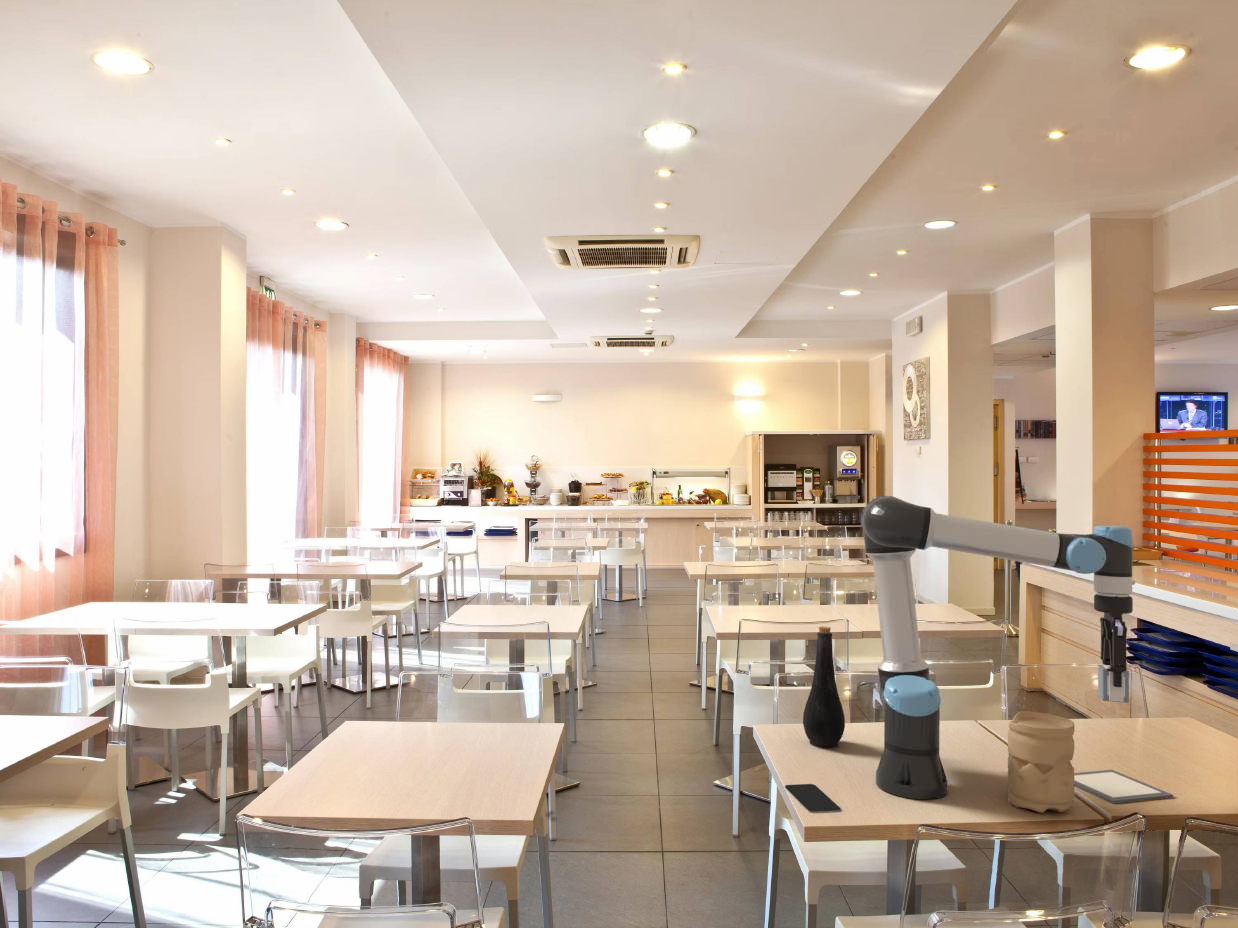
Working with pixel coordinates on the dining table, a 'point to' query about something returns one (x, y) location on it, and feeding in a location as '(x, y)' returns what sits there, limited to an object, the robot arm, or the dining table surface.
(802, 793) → the smartphone
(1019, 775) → the container
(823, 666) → the bottle
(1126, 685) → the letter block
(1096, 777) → the grey bordered square plate
